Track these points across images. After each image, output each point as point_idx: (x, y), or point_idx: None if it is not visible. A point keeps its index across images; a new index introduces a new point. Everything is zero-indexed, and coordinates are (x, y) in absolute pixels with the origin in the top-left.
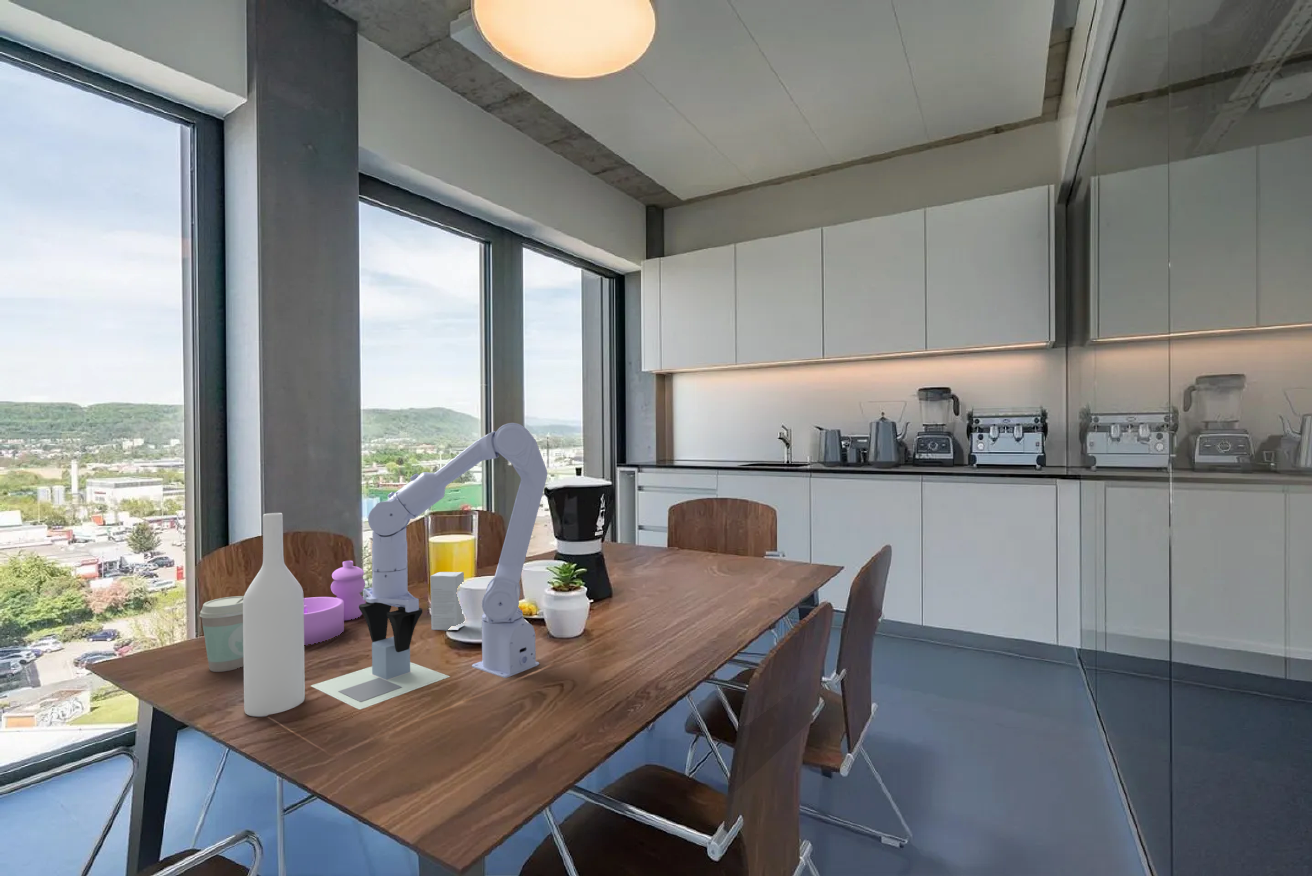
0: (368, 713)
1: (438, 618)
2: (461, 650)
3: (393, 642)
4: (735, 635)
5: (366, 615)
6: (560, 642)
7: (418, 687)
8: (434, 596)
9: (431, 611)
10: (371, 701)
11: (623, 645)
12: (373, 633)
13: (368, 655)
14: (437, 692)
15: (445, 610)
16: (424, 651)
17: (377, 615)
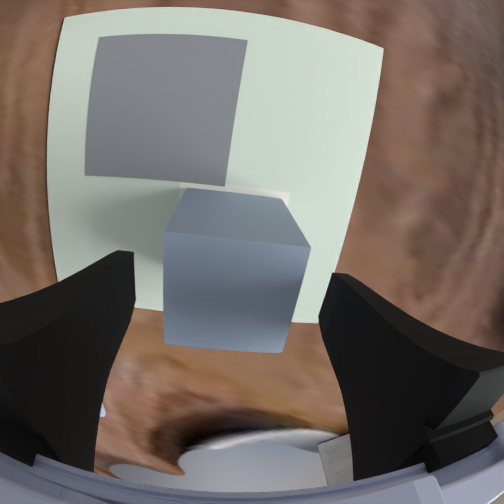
0: (42, 32)
1: None
2: (215, 409)
3: (204, 298)
4: None
5: (432, 345)
6: (103, 455)
7: (51, 203)
8: None
9: None
10: (77, 60)
11: None
12: (353, 299)
13: (416, 297)
14: (11, 216)
15: (351, 470)
16: (296, 377)
17: (381, 388)
